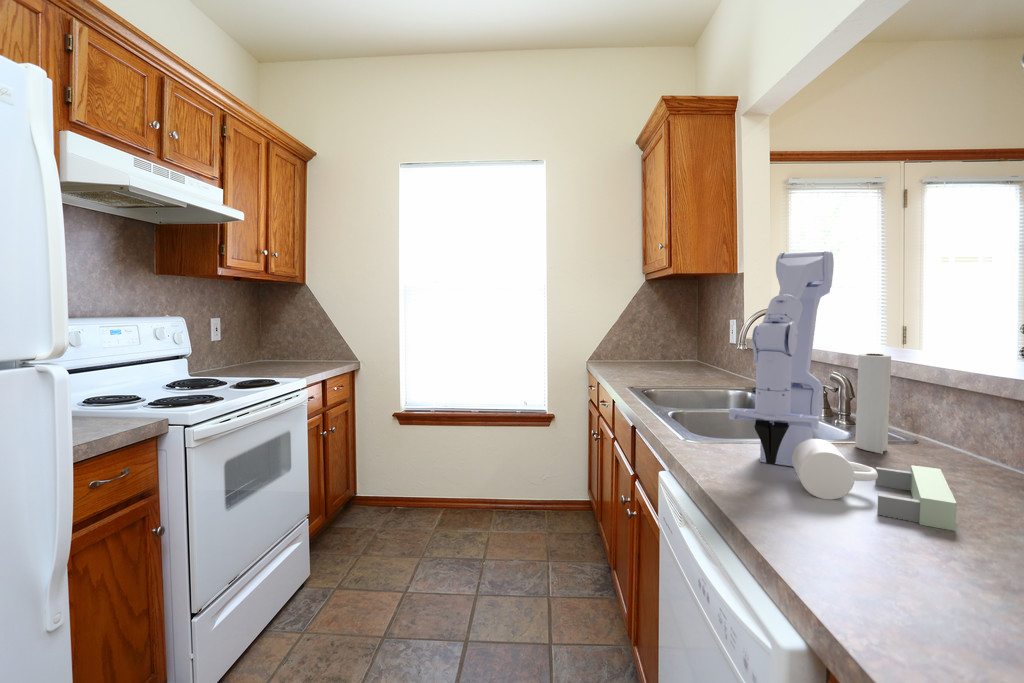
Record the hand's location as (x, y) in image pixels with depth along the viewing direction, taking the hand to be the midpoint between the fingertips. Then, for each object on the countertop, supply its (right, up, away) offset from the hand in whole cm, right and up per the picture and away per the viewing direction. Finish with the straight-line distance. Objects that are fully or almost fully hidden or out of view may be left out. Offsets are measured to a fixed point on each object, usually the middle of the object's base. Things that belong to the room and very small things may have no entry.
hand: (771, 462), depth 95 cm
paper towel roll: (+33, -2, +21) cm, 39 cm away
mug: (+8, -4, -5) cm, 11 cm away
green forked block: (+17, -4, -12) cm, 21 cm away
